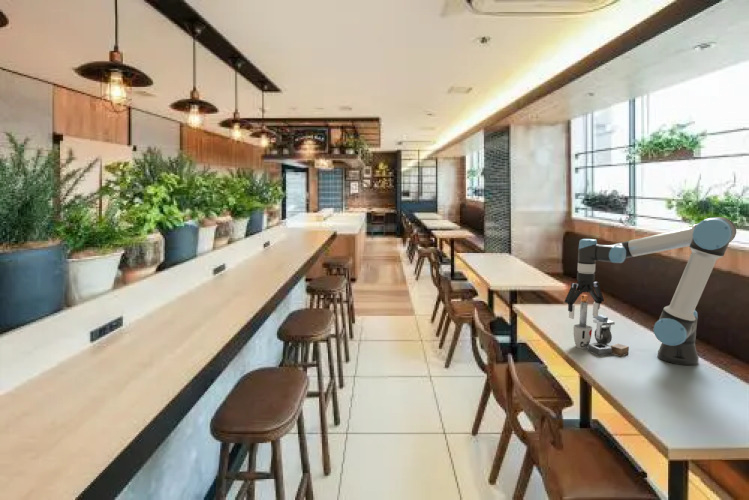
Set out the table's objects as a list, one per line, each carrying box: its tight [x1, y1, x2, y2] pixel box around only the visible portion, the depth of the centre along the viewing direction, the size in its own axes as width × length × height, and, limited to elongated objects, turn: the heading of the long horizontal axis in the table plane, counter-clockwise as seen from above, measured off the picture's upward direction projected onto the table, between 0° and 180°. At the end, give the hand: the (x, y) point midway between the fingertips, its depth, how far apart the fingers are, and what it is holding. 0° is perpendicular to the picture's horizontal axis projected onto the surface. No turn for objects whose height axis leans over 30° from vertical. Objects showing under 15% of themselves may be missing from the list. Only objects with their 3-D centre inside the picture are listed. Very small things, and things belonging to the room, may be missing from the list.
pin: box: [579, 294, 589, 328], centre depth 221 cm, size 3×3×15 cm
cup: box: [573, 323, 593, 350], centre depth 223 cm, size 8×8×10 cm
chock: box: [610, 343, 630, 357], centre depth 215 cm, size 5×6×4 cm
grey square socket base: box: [587, 342, 613, 357], centre depth 216 cm, size 7×7×3 cm
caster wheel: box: [592, 313, 616, 345], centre depth 228 cm, size 10×7×13 cm
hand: (583, 317), depth 222 cm, fingers open, 12 cm apart
